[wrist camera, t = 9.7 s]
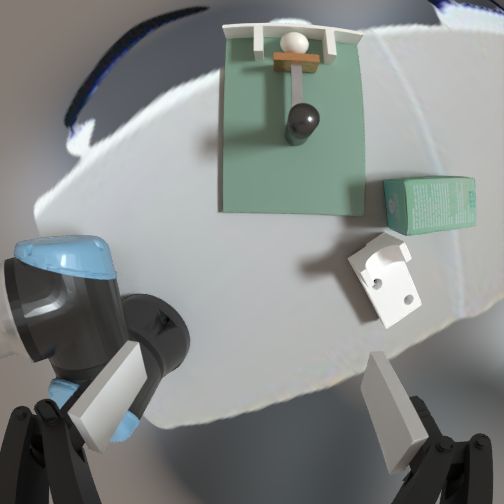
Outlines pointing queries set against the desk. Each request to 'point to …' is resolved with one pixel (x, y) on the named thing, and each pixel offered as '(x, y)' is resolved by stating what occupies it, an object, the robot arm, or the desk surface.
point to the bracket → (386, 278)
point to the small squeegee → (298, 95)
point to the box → (430, 204)
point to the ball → (294, 43)
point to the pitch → (275, 119)
